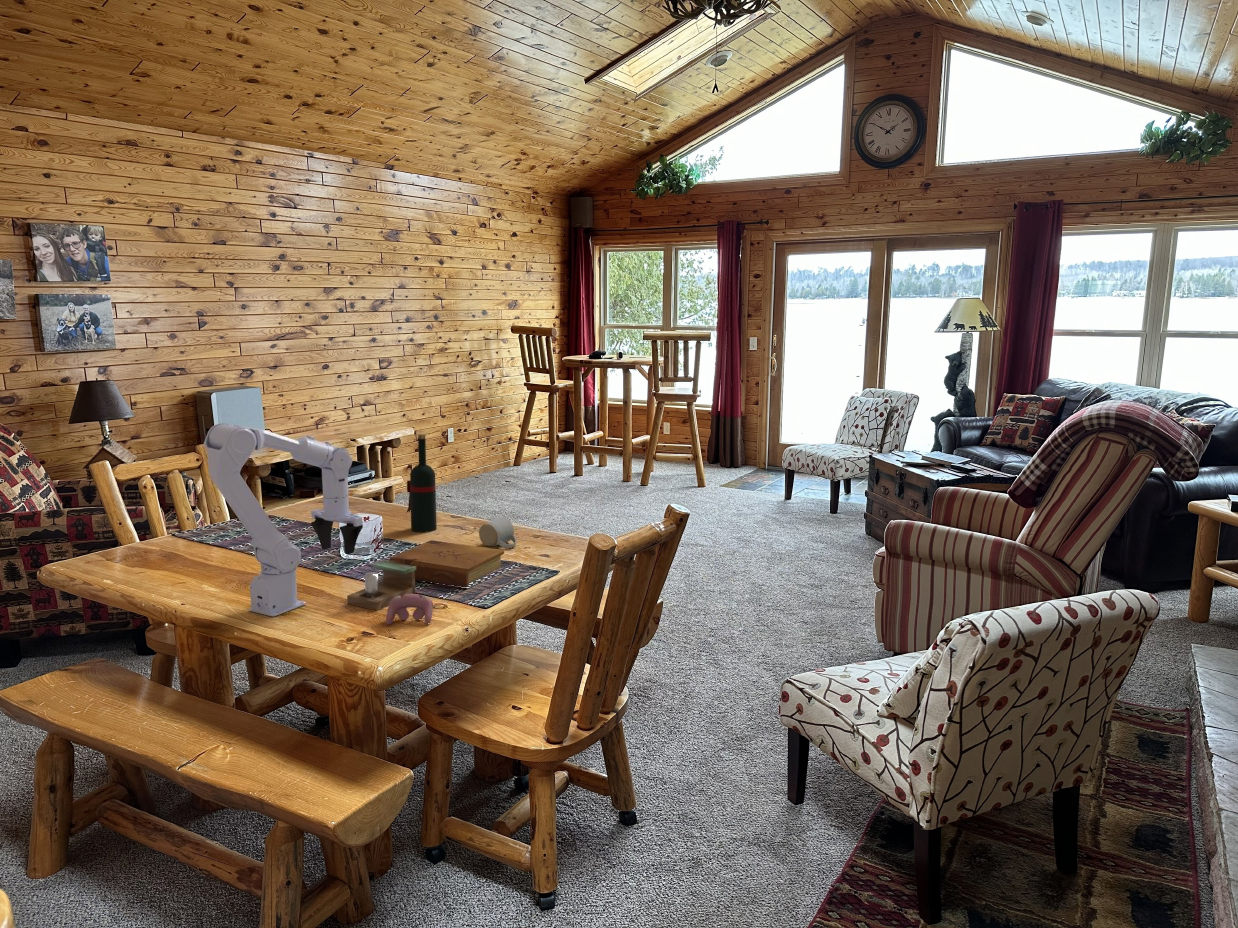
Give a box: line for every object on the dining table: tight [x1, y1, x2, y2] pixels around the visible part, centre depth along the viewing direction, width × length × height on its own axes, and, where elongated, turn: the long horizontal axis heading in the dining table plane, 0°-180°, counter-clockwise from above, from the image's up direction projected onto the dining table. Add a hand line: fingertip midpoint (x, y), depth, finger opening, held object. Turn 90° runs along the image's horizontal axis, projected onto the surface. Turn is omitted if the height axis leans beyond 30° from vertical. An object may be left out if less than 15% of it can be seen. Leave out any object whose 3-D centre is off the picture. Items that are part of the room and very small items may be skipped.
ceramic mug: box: [478, 516, 518, 549], centre depth 239 cm, size 11×8×8 cm
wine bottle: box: [405, 433, 438, 533], centre depth 253 cm, size 8×10×30 cm
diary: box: [388, 539, 505, 587], centre depth 212 cm, size 23×19×6 cm
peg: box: [364, 571, 380, 599], centre depth 189 cm, size 3×3×7 cm
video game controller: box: [385, 593, 434, 626], centre depth 179 cm, size 10×5×7 cm, turn 92°
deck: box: [346, 559, 416, 611], centre depth 192 cm, size 13×10×7 cm
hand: (337, 551), depth 196 cm, fingers open, 7 cm apart
